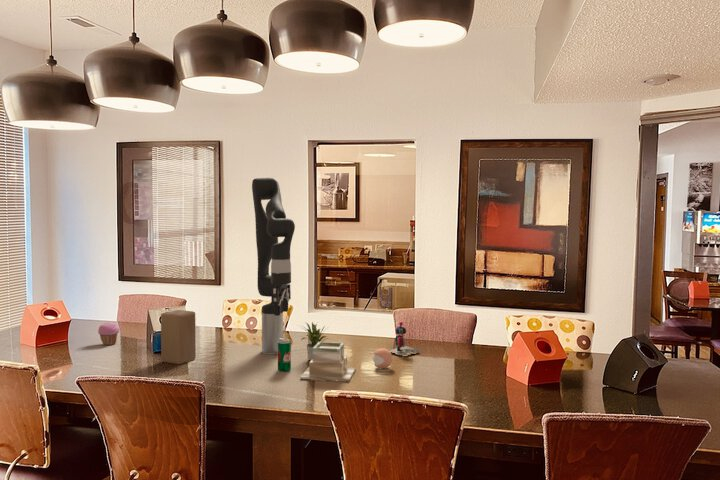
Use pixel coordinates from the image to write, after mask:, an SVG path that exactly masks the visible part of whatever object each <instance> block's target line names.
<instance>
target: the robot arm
mask: <svg viewBox="0 0 720 480" xmlns="http://www.w3.org/2000/svg"><path fill="white" fill-rule="evenodd" d="M251 182H252V183H251V190H252V199H253V208H254V219H255V238H256V239H255V241H256V243H255V244H256V251H257V254H256V255H257V290H258V291H257V292H258V293H259V295H260V296H261V297H269V298H271V299H270V303H266V304H264V305H262V306H261V353H263V354H267V355H268V354H269V355H274V354H278V341H279V339H282V338H284V313H285V312H287V313H288V312H289V302H290V300H291V294H292V293H291V292H292V291H291V283H292V263H291V245H292V240H293V236H294V233H295V228H296V225H295V222H294V220H293V219H292V218H287V215H286V212H285V209H284V206H283V202H282V194H281V188H280V185H279V181H278V179H277V178H275V177H258V178H254V179H252V181H251ZM266 200H267V201H268V200H269V201H268V202H267V203H266V206H265V209H264V206H263V204H262V201H266ZM279 238H284V239H283V240H282V241H280V242H279ZM270 263H271V264H270ZM269 271H270V272H269Z"/></svg>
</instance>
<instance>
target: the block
mask: <svg viewBox="0 0 720 480" xmlns="http://www.w3.org/2000/svg"><path fill="white" fill-rule="evenodd" d="M196 344H197V342H196V312H195V311H191V310H183V309H175V310H171V311H165V312H163V313H161V314H160V347H161V349H160V350H161V351H160V353H161V354H160V356H161V357H160V358H161V359H160V360H161V362H162V363H166V362H167V364H174V365H182V364H185V363H188V362H190V361H193V360H196V358H197V357H196V356H197V355H196V353H197V352H196V350H197V349H196Z"/></svg>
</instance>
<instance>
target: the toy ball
mask: <svg viewBox="0 0 720 480" xmlns="http://www.w3.org/2000/svg"><path fill="white" fill-rule="evenodd" d="M373 353H374V354H373V357H372V360H373V363H374V366H375V367H376V368H377V369H379V368H385V369H387V368H390V366H391V365H392V363H393V355H392V354H393V353H391V352H390V350H388V349H387V348H383V347H381V348H378V349H376V350H375V351H374V352H373Z"/></svg>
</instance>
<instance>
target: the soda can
mask: <svg viewBox="0 0 720 480" xmlns="http://www.w3.org/2000/svg"><path fill="white" fill-rule="evenodd" d="M291 370H292V342H291V339H290V338H286V337H285V338H284V337H283V338H282V339H279V341H278V353H277V371H279V372H281V373H287V372H290V371H291Z"/></svg>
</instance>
